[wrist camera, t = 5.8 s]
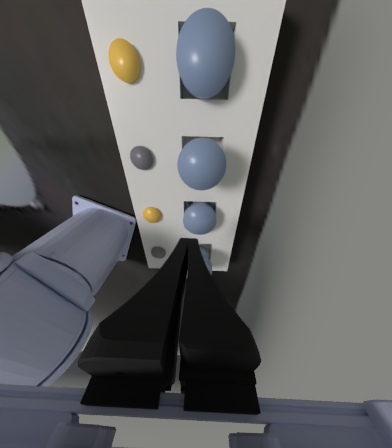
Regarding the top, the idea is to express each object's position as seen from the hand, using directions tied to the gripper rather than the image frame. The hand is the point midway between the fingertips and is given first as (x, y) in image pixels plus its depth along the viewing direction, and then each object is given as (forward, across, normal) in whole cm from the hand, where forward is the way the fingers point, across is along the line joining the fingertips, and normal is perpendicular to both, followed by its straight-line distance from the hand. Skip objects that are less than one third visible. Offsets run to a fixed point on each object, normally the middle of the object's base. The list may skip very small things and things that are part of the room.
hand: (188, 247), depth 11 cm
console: (+8, +1, -2) cm, 9 cm away
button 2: (+8, -1, +1) cm, 8 cm away
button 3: (+6, -1, -5) cm, 8 cm away
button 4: (+8, -1, -11) cm, 14 cm away
